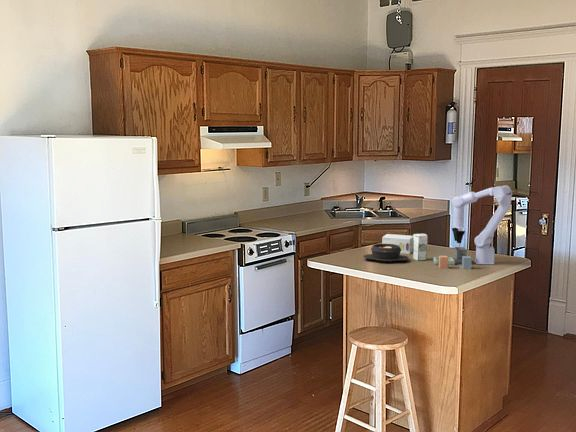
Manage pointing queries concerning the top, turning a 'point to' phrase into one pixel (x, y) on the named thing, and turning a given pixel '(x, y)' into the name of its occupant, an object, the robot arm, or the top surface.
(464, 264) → the slate block
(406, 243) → the supplement box
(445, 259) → the terracotta block
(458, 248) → the grey housing
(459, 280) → the top surface
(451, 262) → the sage tray
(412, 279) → the top surface
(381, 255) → the black round brimmed piece
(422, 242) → the syrup box
